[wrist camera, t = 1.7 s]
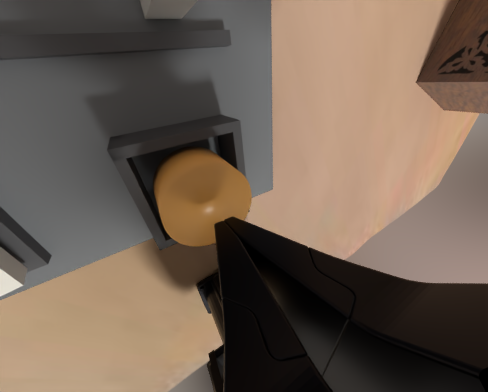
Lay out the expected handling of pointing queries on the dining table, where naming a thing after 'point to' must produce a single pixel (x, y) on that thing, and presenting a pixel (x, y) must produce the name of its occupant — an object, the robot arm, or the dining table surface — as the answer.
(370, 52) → the dining table surface
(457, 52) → the tissue box cover
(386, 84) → the dining table surface
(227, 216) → the push button
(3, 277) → the white slab
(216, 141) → the panel
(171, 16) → the grey angular block
